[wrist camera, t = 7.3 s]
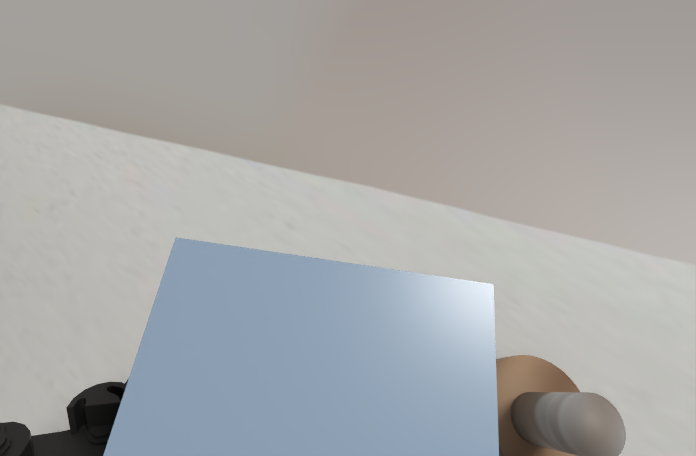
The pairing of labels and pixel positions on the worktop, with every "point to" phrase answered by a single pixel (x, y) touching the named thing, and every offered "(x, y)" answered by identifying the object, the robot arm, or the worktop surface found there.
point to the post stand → (552, 413)
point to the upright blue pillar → (309, 361)
